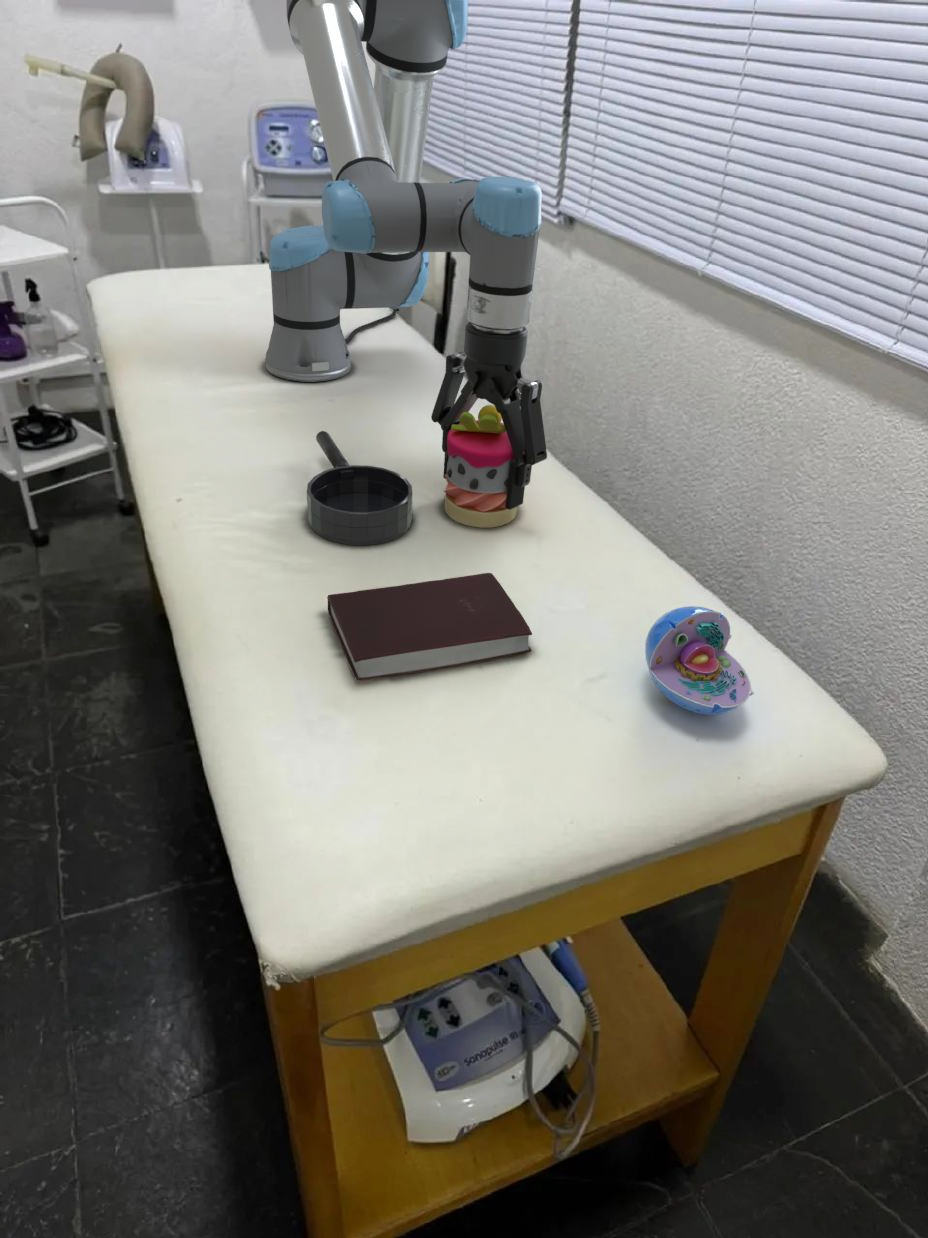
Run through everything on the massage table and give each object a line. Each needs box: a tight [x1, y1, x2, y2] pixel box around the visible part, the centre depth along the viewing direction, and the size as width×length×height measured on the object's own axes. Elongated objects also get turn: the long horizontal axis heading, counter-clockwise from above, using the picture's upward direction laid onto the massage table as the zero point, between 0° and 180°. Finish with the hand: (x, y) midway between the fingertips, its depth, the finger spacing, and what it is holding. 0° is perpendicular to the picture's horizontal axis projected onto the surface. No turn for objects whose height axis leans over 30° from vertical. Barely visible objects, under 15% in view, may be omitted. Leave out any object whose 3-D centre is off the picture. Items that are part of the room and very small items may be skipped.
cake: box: [443, 404, 524, 529], centre depth 112 cm, size 10×11×15 cm
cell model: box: [644, 605, 755, 716], centre depth 84 cm, size 10×12×10 cm
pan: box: [306, 464, 413, 546], centre depth 110 cm, size 13×13×4 cm
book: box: [327, 572, 533, 681], centre depth 91 cm, size 12×19×3 cm, turn 110°
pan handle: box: [315, 430, 354, 479], centre depth 119 cm, size 13×2×2 cm, turn 23°
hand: (482, 490), depth 114 cm, fingers closed on cake, 10 cm apart
